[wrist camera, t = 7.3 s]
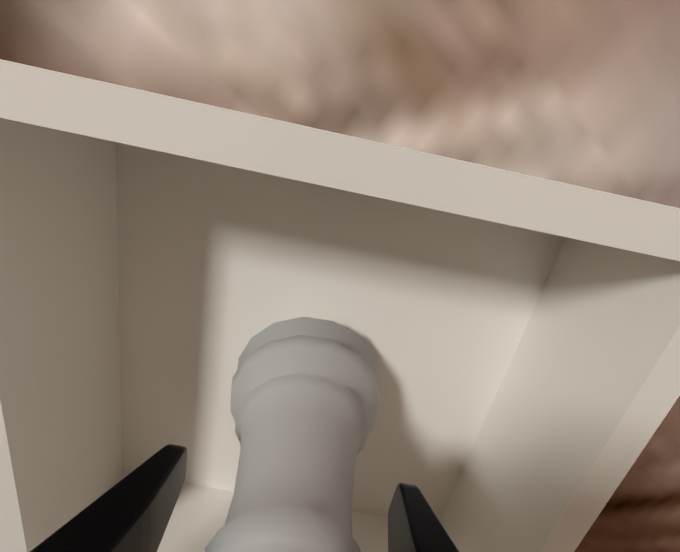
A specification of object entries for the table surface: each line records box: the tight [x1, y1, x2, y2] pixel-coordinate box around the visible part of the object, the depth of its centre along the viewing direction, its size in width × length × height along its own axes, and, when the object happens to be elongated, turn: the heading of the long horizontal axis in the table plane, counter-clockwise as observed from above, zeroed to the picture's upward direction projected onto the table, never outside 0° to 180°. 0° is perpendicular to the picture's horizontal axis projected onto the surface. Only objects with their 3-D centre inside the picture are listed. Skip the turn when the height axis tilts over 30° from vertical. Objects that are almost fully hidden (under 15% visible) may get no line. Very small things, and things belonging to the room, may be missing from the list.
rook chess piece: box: [205, 317, 381, 552], centre depth 7 cm, size 4×4×8 cm
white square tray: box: [0, 59, 680, 552], centre depth 10 cm, size 14×14×4 cm
